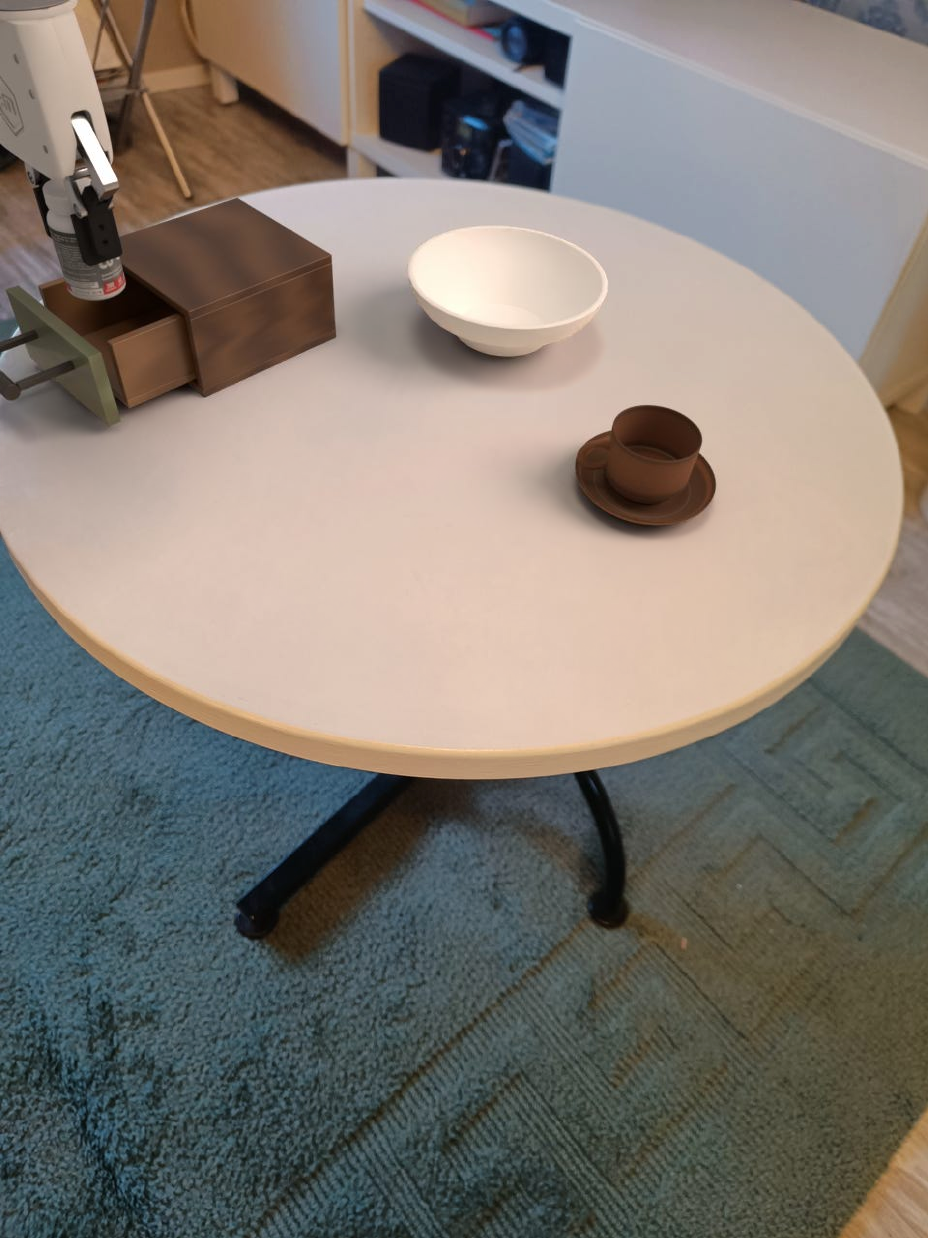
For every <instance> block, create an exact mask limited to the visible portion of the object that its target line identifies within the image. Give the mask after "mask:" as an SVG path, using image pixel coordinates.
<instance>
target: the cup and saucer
mask: <svg viewBox="0 0 928 1238" xmlns="http://www.w3.org/2000/svg"><path fill="white" fill-rule="evenodd" d="M612 421H613V422H612V425H611V430H607V431H603V432H601V433H599V434H596V435H594V436H593V437H591V438H589V439H588V440H587V441H586V442H585V443H584V444H583V445H582V446H581V447H580V448H579V450H578V451H577V454H576V456H575V464H574V465H575V466H574V470H575V477H576V480H577V482H578V485H579V487H580V489H581V490H582V491H583V493H584V494H585V495H586V496H587V498H588V499H589V500H590V501H591V502H592V503H593V504H595V505H596V506H597V507H599V508H600V509H602V510H603V511H605V512H606V513H608V514H610V515H612V516H614V517H616V518H619V519H620V520H624V521H627V522H630V523H632V524H633V523H634V524H638V525H645V526H666V525H675V524H680V523H683V522H686V521H689V520H691V519H693V518H695V517H697V516H698V515H700V514H701V513H702V512H704V511H705V509H707V508H708V506H709V505H710V503H711V502H712V501H713V499H714V497H715V494H716V490H717V480H716V475H715V473H714V472H715V471H714V469H713V468H712V466H711V464H710V463H709V461H708V460H707V459H706V457H704V455H702V454H701V453H700V450H701V448H702V445H703V435H702V432H701V429H700V428H699V426H698V425H697V424H696V422H694V421H693V420H692V419H691V418H689V417H688V416H686V414H684V413H682V412H680V411H678V410H675V409H672V408H669V407H666V406H662V405H656V404H642V405H641V404H640V405H633V406H630V407H628V408H626V409H623V410H622V411H620V412H619V413H618V414H617V415H616V416H615V417H614V419H613V420H612Z"/></svg>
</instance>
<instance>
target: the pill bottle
mask: <svg viewBox="0 0 928 1238" xmlns="http://www.w3.org/2000/svg"><path fill="white" fill-rule="evenodd" d="M76 182H77V185H78V187H79V190H80V193H81V195H82V192H83V190H84V187H86V186H89V185H90V182H91V177H90V178H89V177H85V178H82V179H78V180H76ZM43 193H44V197H45V202H46V205H47V206H48V208H49V209H50V210H49V211H48V213H47V223H48V227H49V230H50V233H51V236H52V238H51V240H52V242H53V246H54V249H55V252H56V256H57V260H58V262H59V263H58V264H59V266H60V269H61V272H62V277H64V279H65V283H66V286H67V289H68V291H69V292H70V293H71V294H72V295H73V296H75V297H77V298H80V299H84V300H92V301H98V300H105V299H109V298H112V297H114V296H116V295H118V294H119V293H120V292H121V291H122V290H123V289H124V288H125V284H126V282H125V276H124V273H123V269H122V264H121V260H120V257H117V258H114V259H111V260H108V261H106V262H103V263H100V264H97V265H94V266H88V265H86V264H85V263H84V262H83V260H82V256H81V253H80V249H79V245H78V242H77V238H76V235H75V231H74V228H73V224H72V221H71V217H70V215H71V214H75V212H74V210H73V207H72V204H71V202H70V199H69V196H68V194H67V191H66V189H65V186H64V183H63V181H60V182H58V181H54V180H52V179H51V180H49V181H48V182H46V183H45V184H44V186H43Z"/></svg>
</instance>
